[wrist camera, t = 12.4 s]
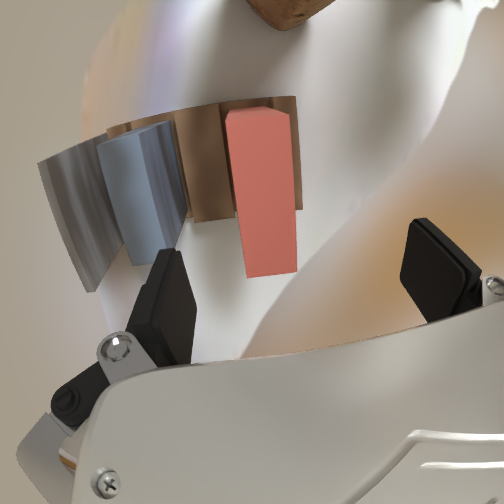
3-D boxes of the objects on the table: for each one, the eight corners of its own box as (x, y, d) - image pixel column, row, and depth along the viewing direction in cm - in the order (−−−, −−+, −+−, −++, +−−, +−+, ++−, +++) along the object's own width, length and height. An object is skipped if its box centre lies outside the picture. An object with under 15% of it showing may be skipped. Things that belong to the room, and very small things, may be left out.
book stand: (290, 95, 30) (334, 97, 16) (297, 200, 37) (334, 269, 24) (109, 127, 30) (35, 157, 17) (133, 223, 38) (89, 296, 24)
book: (263, 106, 30) (289, 114, 16) (272, 199, 36) (297, 272, 22) (229, 109, 30) (225, 120, 16) (241, 202, 36) (247, 278, 22)
